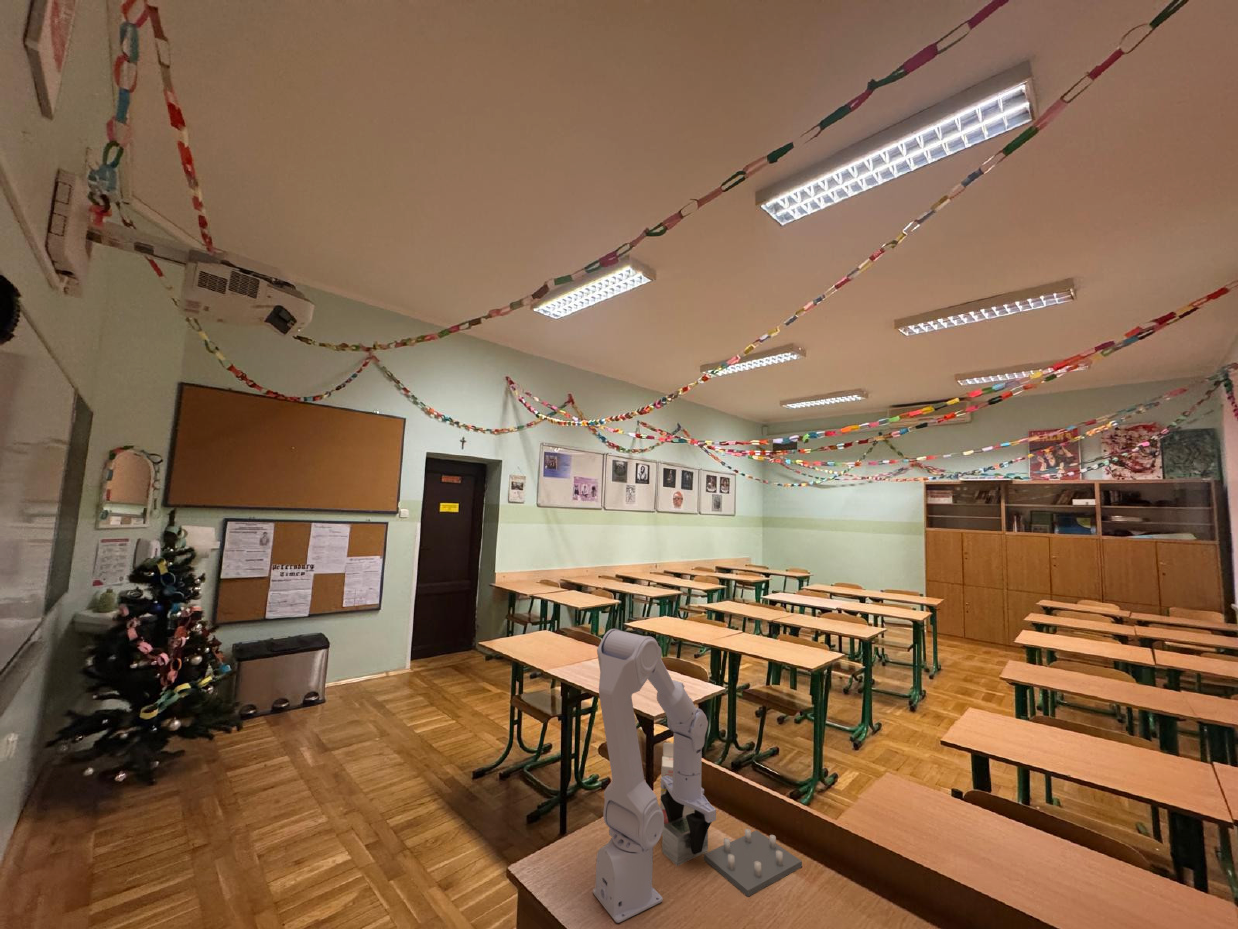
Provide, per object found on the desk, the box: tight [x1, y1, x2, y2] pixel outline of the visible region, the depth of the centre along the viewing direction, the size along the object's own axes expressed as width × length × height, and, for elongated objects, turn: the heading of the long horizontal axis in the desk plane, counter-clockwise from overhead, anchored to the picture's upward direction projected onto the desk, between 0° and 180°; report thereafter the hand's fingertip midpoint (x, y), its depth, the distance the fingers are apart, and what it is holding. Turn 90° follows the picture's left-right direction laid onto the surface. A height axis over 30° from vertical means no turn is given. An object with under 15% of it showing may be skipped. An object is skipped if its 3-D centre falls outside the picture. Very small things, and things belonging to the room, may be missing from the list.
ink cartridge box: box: [659, 742, 694, 825], centre depth 106 cm, size 9×5×15 cm, turn 84°
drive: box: [661, 816, 709, 867], centre depth 95 cm, size 8×4×5 cm, turn 124°
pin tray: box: [703, 828, 803, 898], centre depth 92 cm, size 15×11×3 cm
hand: (686, 843), depth 94 cm, fingers open, 6 cm apart
